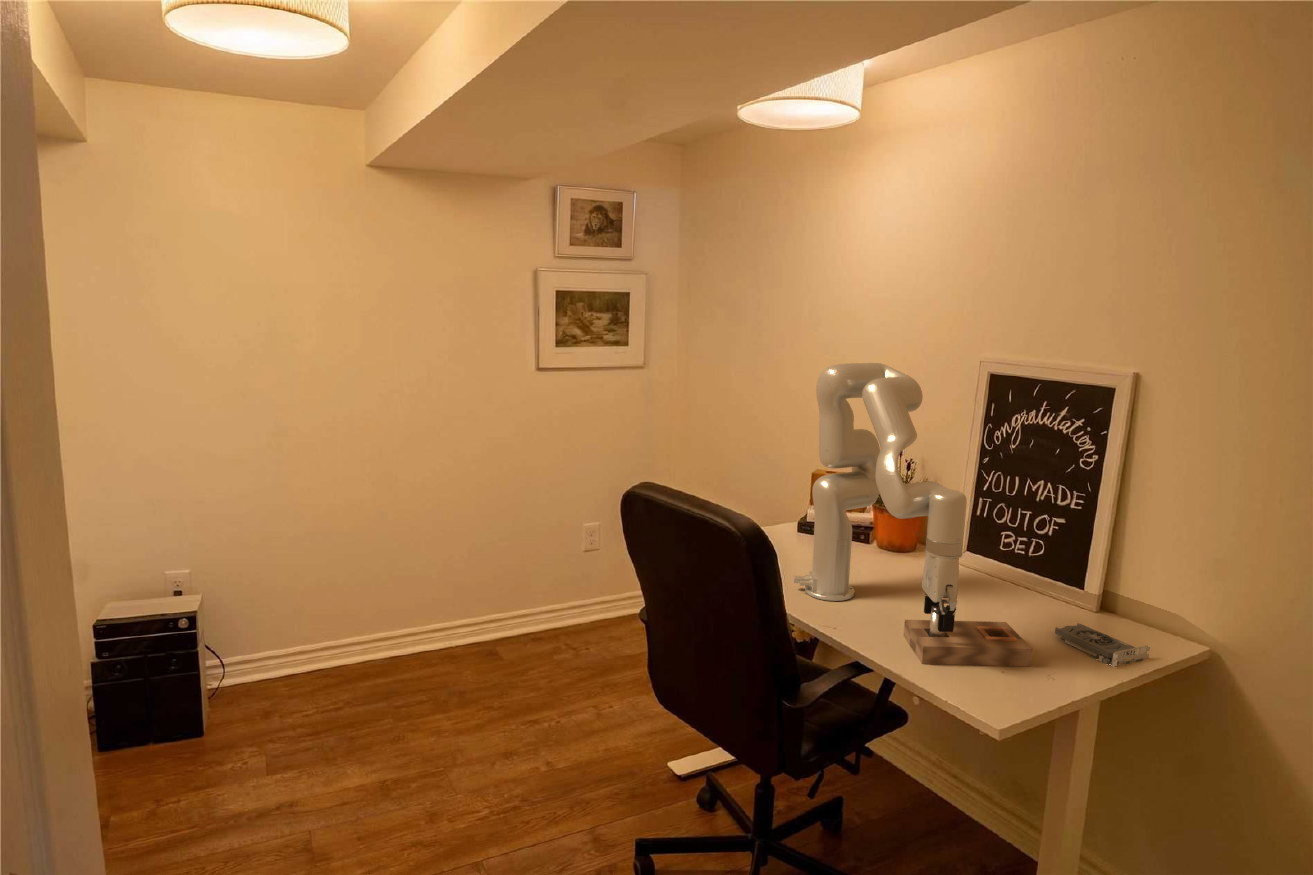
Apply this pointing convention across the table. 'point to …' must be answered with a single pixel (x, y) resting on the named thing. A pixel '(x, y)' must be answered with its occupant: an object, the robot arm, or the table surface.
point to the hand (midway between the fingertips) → (938, 622)
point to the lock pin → (935, 622)
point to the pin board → (969, 644)
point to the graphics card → (1102, 645)
